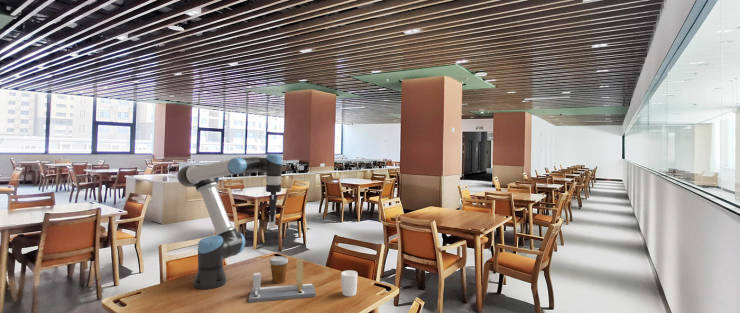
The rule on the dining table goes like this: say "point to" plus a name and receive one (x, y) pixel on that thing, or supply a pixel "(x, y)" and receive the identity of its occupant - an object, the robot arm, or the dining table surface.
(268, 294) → the gauge plate
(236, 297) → the dining table surface
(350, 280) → the white cup
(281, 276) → the disposable coffee cup
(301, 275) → the gold pointer slider
